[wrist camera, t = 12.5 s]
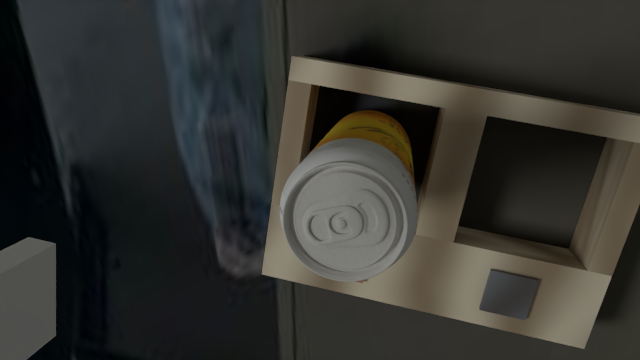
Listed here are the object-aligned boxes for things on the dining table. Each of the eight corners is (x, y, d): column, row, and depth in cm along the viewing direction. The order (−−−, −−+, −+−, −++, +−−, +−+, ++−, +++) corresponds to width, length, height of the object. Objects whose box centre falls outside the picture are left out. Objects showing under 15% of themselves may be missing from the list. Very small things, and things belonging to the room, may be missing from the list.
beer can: (419, 181, 33) (433, 277, 19) (339, 199, 35) (295, 300, 21) (400, 99, 32) (398, 136, 18) (317, 121, 34) (254, 172, 19)
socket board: (274, 254, 37) (260, 276, 33) (303, 55, 32) (290, 56, 29) (566, 320, 34) (585, 351, 31) (641, 114, 30) (674, 122, 26)
